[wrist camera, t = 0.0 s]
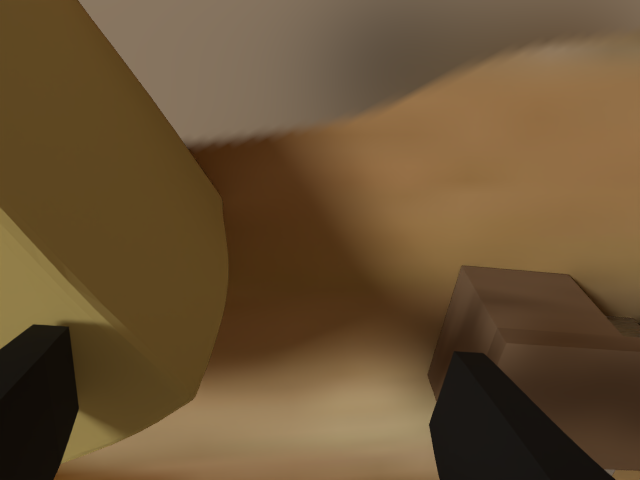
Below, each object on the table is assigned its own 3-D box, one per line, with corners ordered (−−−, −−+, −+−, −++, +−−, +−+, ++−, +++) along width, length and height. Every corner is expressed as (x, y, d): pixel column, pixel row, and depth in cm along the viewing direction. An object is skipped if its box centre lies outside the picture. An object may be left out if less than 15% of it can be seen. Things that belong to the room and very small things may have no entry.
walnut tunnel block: (698, 390, 26) (779, 475, 21) (427, 374, 24) (458, 464, 20) (763, 291, 23) (872, 367, 19) (461, 265, 21) (506, 343, 17)
